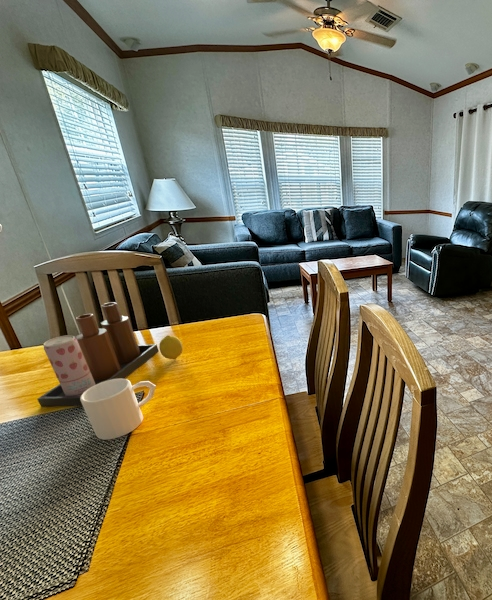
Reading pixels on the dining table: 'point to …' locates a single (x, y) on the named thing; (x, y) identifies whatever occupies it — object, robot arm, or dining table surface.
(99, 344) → the bottle middle
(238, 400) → the dining table surface
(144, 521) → the dining table surface
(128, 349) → the bottle back
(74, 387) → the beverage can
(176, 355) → the lemon
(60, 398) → the tray
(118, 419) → the mug
